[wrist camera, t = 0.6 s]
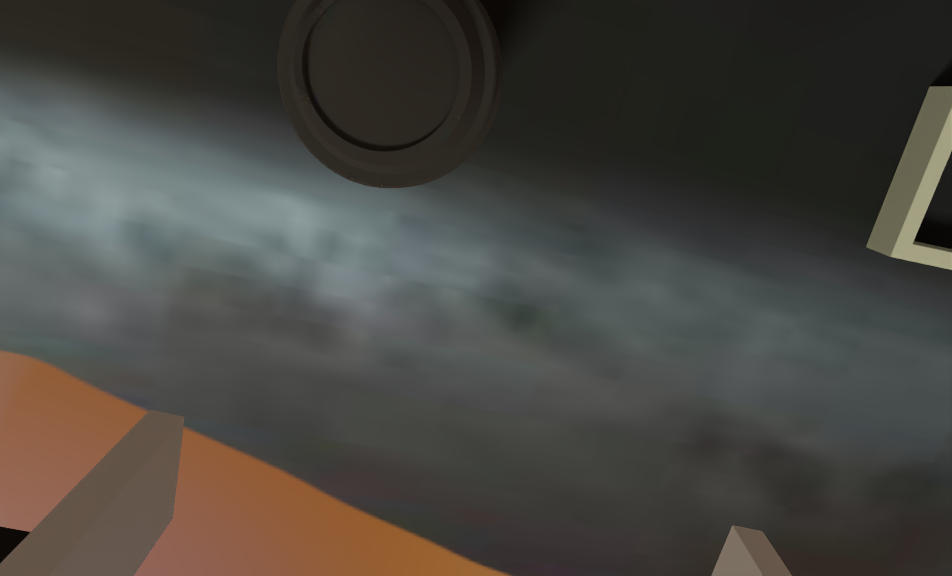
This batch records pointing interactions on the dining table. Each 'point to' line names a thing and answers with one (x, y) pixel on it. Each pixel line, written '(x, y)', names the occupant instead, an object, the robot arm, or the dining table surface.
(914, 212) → the socket panel
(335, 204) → the dining table surface
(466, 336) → the dining table surface
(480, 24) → the coffee cup
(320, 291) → the dining table surface
